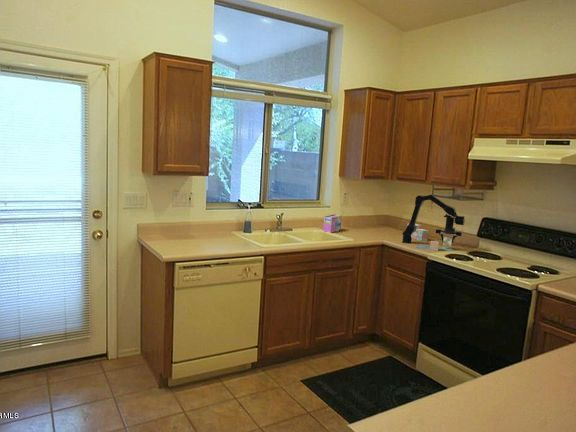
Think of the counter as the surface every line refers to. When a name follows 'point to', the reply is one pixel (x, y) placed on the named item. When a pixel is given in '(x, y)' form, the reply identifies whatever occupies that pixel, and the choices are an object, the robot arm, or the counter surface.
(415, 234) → the stack of blocks
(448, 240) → the maple block
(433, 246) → the terracotta block
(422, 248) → the card
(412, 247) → the counter surface
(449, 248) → the teal pad
